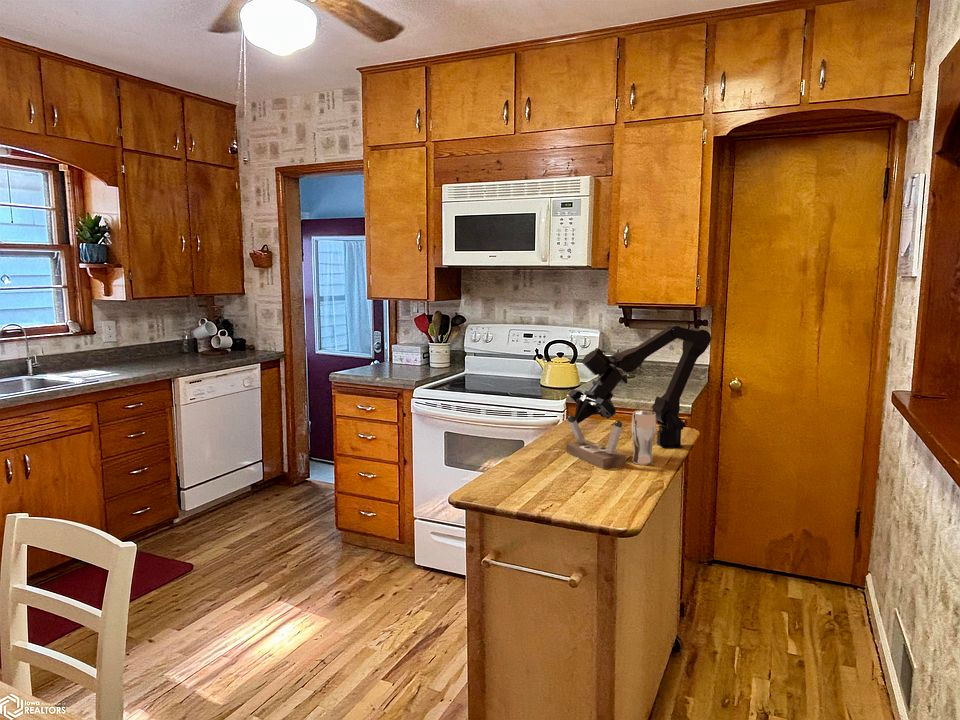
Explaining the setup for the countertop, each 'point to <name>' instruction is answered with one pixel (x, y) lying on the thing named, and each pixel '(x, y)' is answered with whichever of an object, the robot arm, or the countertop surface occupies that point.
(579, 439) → the lever
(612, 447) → the lever
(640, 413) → the beer glass
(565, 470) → the countertop surface
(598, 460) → the switch box
